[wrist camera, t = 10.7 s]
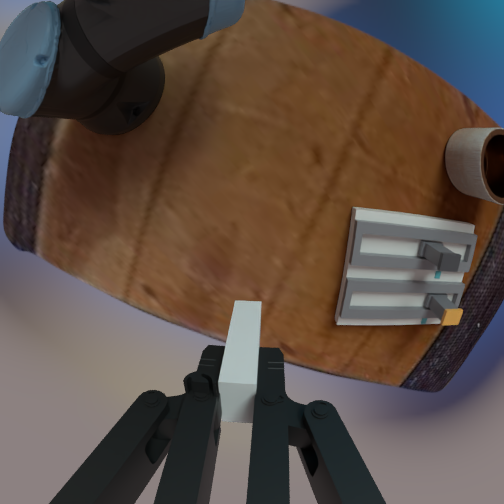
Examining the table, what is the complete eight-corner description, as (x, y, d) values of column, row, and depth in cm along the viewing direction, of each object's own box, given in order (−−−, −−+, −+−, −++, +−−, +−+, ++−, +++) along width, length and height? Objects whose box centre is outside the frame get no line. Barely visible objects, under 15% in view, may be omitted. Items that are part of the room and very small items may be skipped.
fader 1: (421, 239, 37) (441, 253, 32) (441, 241, 37) (463, 255, 31) (417, 255, 38) (437, 270, 32) (438, 256, 38) (458, 272, 32)
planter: (443, 121, 34) (479, 118, 25) (489, 136, 33) (525, 137, 24) (440, 189, 37) (476, 200, 28) (486, 198, 36) (521, 209, 27)
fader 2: (427, 292, 40) (445, 311, 34) (445, 292, 40) (464, 310, 34) (423, 305, 41) (440, 325, 35) (441, 305, 41) (459, 324, 35)
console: (352, 206, 39) (358, 211, 36) (468, 222, 38) (479, 227, 35) (334, 318, 45) (338, 328, 42) (443, 317, 44) (450, 326, 41)
